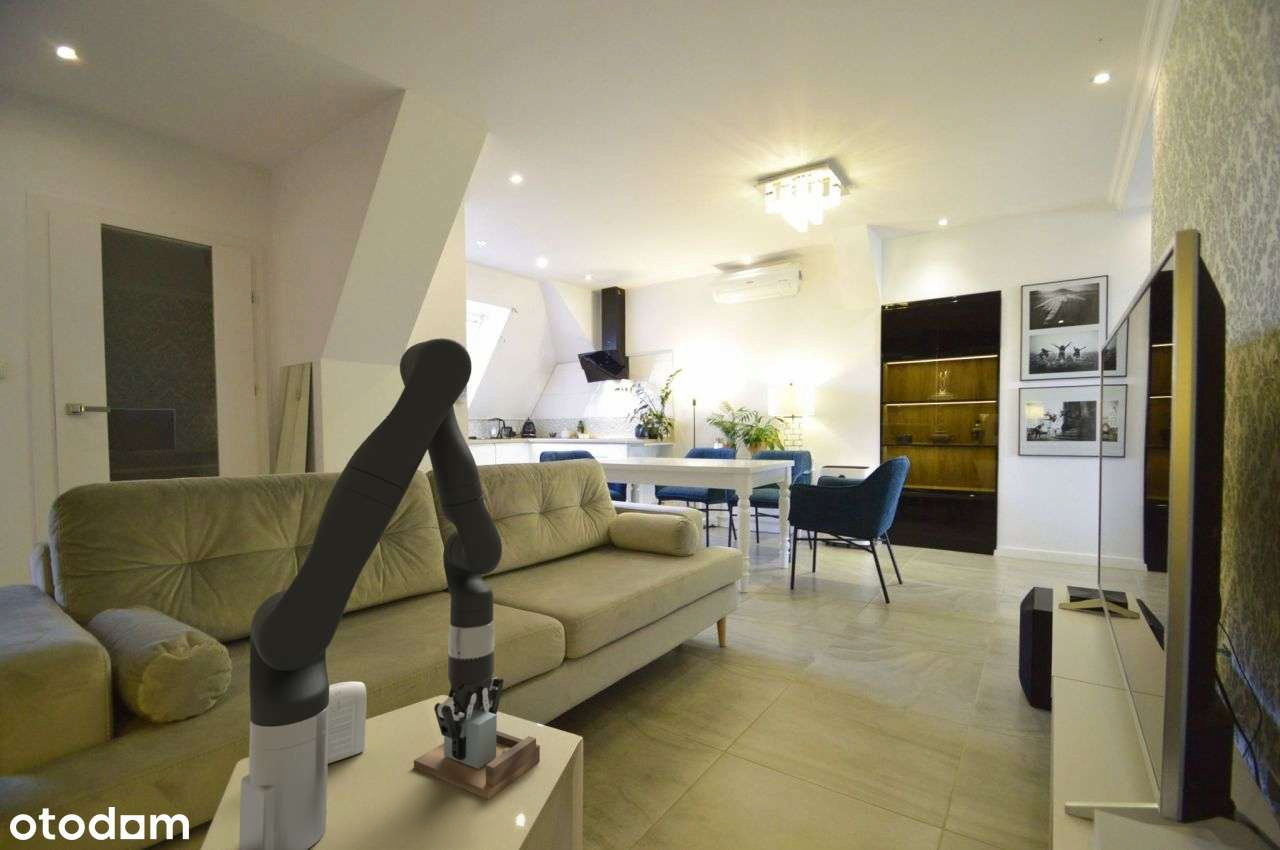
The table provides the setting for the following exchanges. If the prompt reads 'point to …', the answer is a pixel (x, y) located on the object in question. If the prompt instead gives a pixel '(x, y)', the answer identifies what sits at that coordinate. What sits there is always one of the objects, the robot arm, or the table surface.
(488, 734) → the tall pale blue block
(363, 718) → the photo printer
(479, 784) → the board
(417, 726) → the table surface
